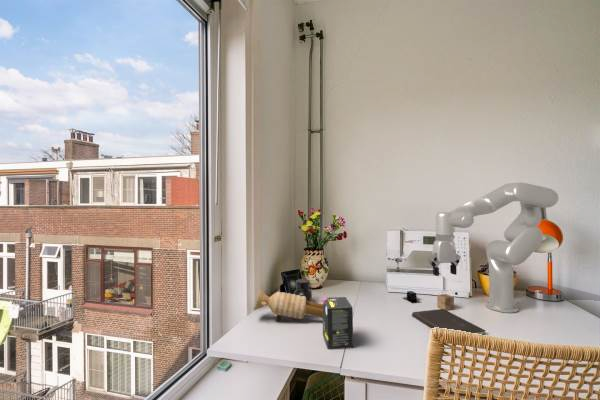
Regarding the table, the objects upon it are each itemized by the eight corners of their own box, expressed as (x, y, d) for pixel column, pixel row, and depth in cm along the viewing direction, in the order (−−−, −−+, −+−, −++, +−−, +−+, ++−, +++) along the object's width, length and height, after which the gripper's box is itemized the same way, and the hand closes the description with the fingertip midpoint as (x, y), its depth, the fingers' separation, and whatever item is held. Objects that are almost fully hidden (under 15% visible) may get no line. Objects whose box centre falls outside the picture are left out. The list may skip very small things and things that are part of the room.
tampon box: (322, 335, 113) (321, 297, 113) (346, 334, 114) (345, 296, 114) (327, 349, 102) (326, 307, 102) (353, 348, 103) (353, 306, 103)
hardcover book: (443, 313, 134) (443, 308, 134) (485, 336, 111) (485, 330, 111) (411, 317, 130) (411, 312, 130) (448, 341, 108) (448, 335, 108)
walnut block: (446, 306, 142) (446, 293, 142) (454, 310, 137) (453, 297, 137) (437, 307, 140) (437, 294, 140) (445, 311, 136) (444, 298, 136)
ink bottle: (316, 304, 147) (315, 280, 147) (306, 309, 140) (306, 284, 140) (299, 300, 152) (299, 277, 152) (289, 306, 145) (289, 281, 145)
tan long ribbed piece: (322, 324, 132) (256, 311, 132) (327, 297, 132) (261, 284, 132) (324, 334, 122) (252, 320, 122) (329, 305, 122) (258, 291, 122)
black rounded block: (425, 304, 146) (425, 295, 146) (412, 305, 144) (412, 296, 144) (410, 296, 158) (410, 288, 158) (398, 297, 156) (398, 289, 156)
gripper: (453, 236, 145) (454, 271, 145) (423, 238, 140) (423, 274, 140) (466, 238, 137) (466, 275, 137) (434, 240, 133) (434, 278, 133)
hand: (444, 274), depth 139 cm, fingers open, 9 cm apart
